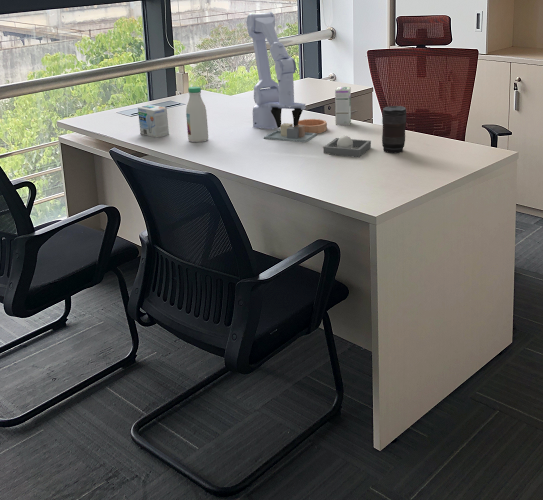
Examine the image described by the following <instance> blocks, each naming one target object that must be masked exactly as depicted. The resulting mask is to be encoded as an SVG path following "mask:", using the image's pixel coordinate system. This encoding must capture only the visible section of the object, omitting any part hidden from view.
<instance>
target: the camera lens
mask: <svg viewBox="0 0 543 500" xmlns="http://www.w3.org/2000/svg"><path fill="white" fill-rule="evenodd" d="M381 115H382V119H381V124H382V133H381V134H382V135H381V141H382V142H381V144H382V149H383V152H385V153H388V154H399V153H403V151H404V147H405V144H406V124H407V108H406V107H405V106H402V105H390V106H385V107H383V108H382V114H381Z"/></svg>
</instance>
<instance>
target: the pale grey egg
mask: <svg viewBox="0 0 543 500" xmlns="http://www.w3.org/2000/svg"><path fill="white" fill-rule="evenodd" d="M338 138H339V139H338V141H337V146H336V147H340V148H351V149H353V147H352V146H353V141H352V139H353V138H351V137H350V136H349V135H342V136H340V137H338Z"/></svg>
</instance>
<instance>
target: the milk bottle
mask: <svg viewBox="0 0 543 500" xmlns="http://www.w3.org/2000/svg"><path fill="white" fill-rule="evenodd" d="M201 93H202V89H201V87H200V86H189V87H188V95H189V96H188V102H187V103H186V108H185V115H186V116H185V117H186V127H187V128H186V129H187V139H188V141H189V142H191V143H203V142H207V141H208V140H209V129H208V128H209V126H208V115H207V108H206V105H205V103H204V100H203V98H202V94H201Z"/></svg>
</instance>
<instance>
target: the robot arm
mask: <svg viewBox="0 0 543 500" xmlns="http://www.w3.org/2000/svg"><path fill="white" fill-rule="evenodd" d="M275 27H276V17H275V14H274V13H273V12H272V11H268V12H254V13H252V12H250V13H248V15H247V18H246V28H247V29H246V30H247V33H248V37H250V38H252V44H253V49H254V57H255V61H256V62H255V63H256V64H255V65H256V69H257V75H258V82H257V83H256V84H255V85H254V86H253V99H254V103H255V105H254V106H253V108H252V128H254V129H255V128H257V129H268V130H274V129H276V128H279V129H280V128H281V125H282V112H283V110H282V109H285V110H287V109H289V110H290V109H291V114H292V118H293V123H292V124H293V127H294V126H297V125H298V122H299V120H300V117H301V115H302V113H303V111H305V109H306V103H302V102H301V103H299V102H295V90H294V85H295V84H294V74H295V73H296V70H297V65H296V61H295V59H294V57H292V56H291V55H289V53H288V51H287V49H286V47H285V44H284V43H283V42H280V39H279V37H278V35H277V32H276V28H275ZM266 41H267V42H268V44H269V46H270V48H269V53H270V55H271V58H272V59H273V61H274V72H275V74H276V80H277V81H275V80H273V79H272V73H271V68H270V61H269V60H270V59H269V56H268V49H267V43H266Z"/></svg>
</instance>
